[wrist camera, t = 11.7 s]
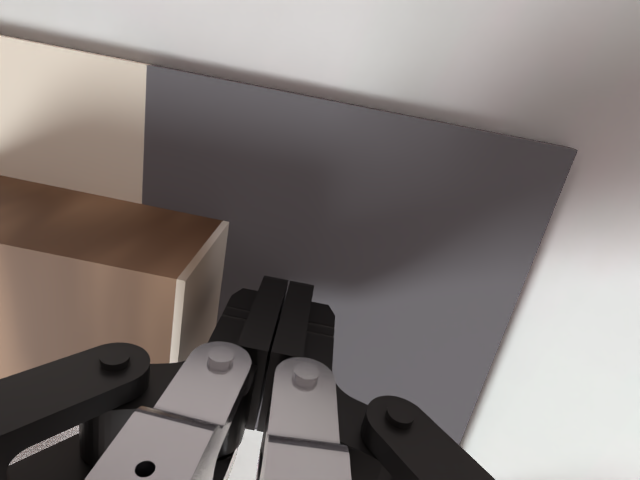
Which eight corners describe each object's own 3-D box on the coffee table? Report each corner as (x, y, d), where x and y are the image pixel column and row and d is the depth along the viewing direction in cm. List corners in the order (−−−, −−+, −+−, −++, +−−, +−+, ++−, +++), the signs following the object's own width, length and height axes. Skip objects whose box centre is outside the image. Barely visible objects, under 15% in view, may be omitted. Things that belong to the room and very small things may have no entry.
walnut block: (185, 280, 10) (-175, 208, 10) (172, 417, 11) (-140, 356, 11) (229, 221, 14) (-31, 168, 14) (215, 331, 15) (-20, 284, 15)
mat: (570, 147, 13) (577, 150, 12) (448, 456, 17) (451, 465, 17) (-61, 22, 12) (-74, 21, 12) (-19, 369, 17) (-27, 376, 17)
